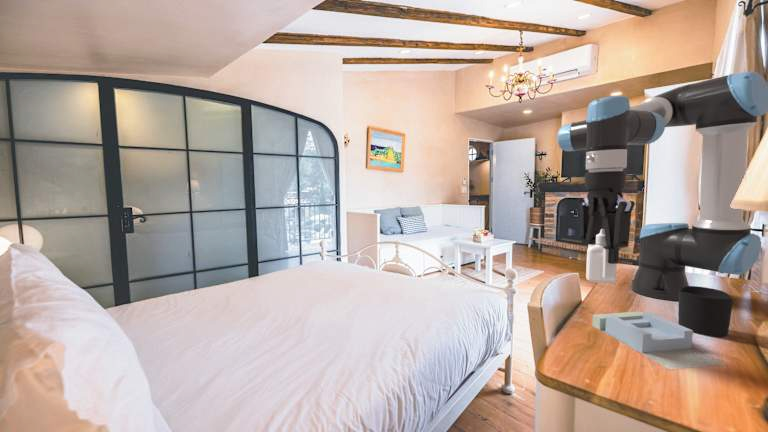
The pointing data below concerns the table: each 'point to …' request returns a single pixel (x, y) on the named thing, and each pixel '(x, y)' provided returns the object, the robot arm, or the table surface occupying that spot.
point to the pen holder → (705, 310)
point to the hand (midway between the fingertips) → (601, 274)
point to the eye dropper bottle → (597, 261)
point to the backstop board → (600, 324)
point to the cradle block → (650, 333)
